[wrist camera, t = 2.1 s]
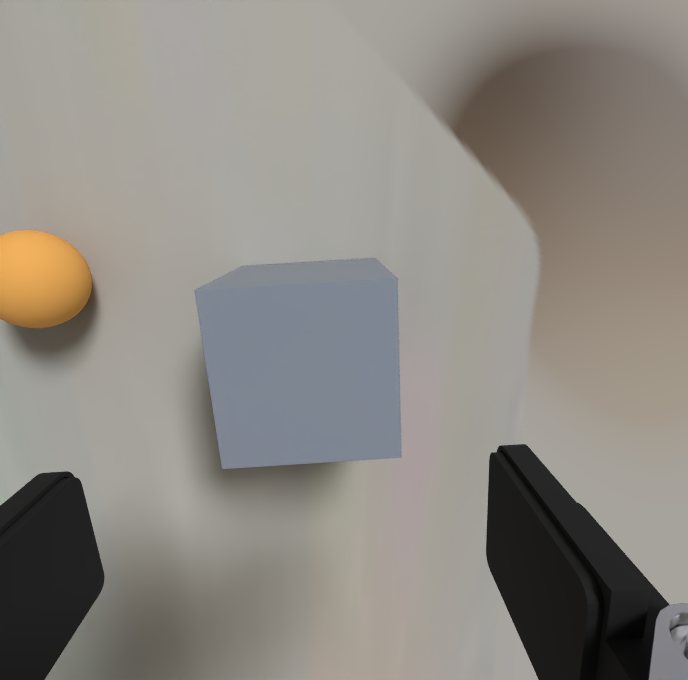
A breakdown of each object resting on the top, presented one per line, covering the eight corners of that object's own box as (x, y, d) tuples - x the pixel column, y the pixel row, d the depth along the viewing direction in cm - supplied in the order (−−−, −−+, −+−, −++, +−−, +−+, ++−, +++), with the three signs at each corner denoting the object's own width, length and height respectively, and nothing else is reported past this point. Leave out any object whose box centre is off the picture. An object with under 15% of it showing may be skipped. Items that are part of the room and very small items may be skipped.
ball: (9, 231, 24) (-73, 234, 19) (99, 226, 24) (40, 227, 19) (32, 318, 25) (-39, 342, 20) (117, 313, 25) (66, 336, 20)
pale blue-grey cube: (242, 266, 25) (194, 290, 16) (375, 258, 25) (397, 278, 16) (257, 389, 27) (222, 469, 18) (379, 382, 27) (401, 457, 18)
